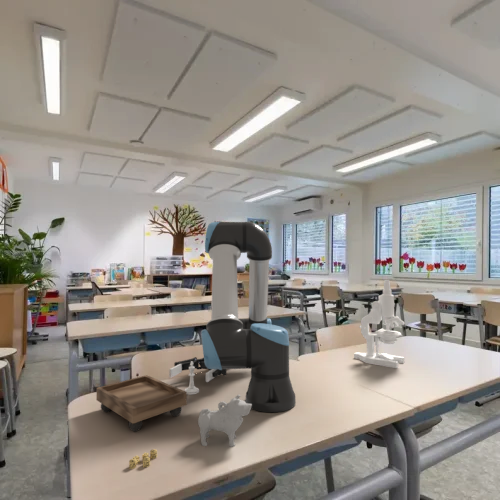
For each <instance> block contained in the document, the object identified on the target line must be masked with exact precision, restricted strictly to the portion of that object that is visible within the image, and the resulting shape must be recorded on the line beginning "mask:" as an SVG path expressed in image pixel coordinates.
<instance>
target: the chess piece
mask: <svg viewBox="0 0 500 500" xmlns="http://www.w3.org/2000/svg"><path fill="white" fill-rule="evenodd" d="M193 364H194V363H193V361H191V364H190V365H191V366H190V367H189V373H188V377H189V385H188V387H186V388H184V390H183V391H185V392H187V395H197V394H199V393H200V388H198V387H196V386H195V382H194V376H196V374H195V373H194V372H195V367H194V366H193Z"/></svg>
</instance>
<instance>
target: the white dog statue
mask: <svg viewBox="0 0 500 500" xmlns="http://www.w3.org/2000/svg"><path fill="white" fill-rule="evenodd" d="M240 397H241V394H237V395H235V397H233V398H231V399H230V401H229V402H228V403H227V402H226V401H223V400H222V401H219V403H218V404H217V408H218V410H211V409H209V408H202V409H201V410H200V412H199V416H198V418H197V422H198V423H197V424H198V427H199V429H200V431H199V434H200V439H201V440H200V441H201V443H200V444H201V446H203V447H207V446H208V445H209V443H208V442H207V439H208V438H210V436H211V435H210V433H209V432H211V431H219V432H224V433H225V434H227V437H228V442H229V447H230V448H234V447H236V443H235V439H237V435H236V431H237V430H238V429H239V428H240V427H241V426H242V423H243V421H244V418H243V417H245V416H248V415H249V414H250V412H251V410H252V409H251V406H252V404H248V403H246V400H243V399H240Z"/></svg>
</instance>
